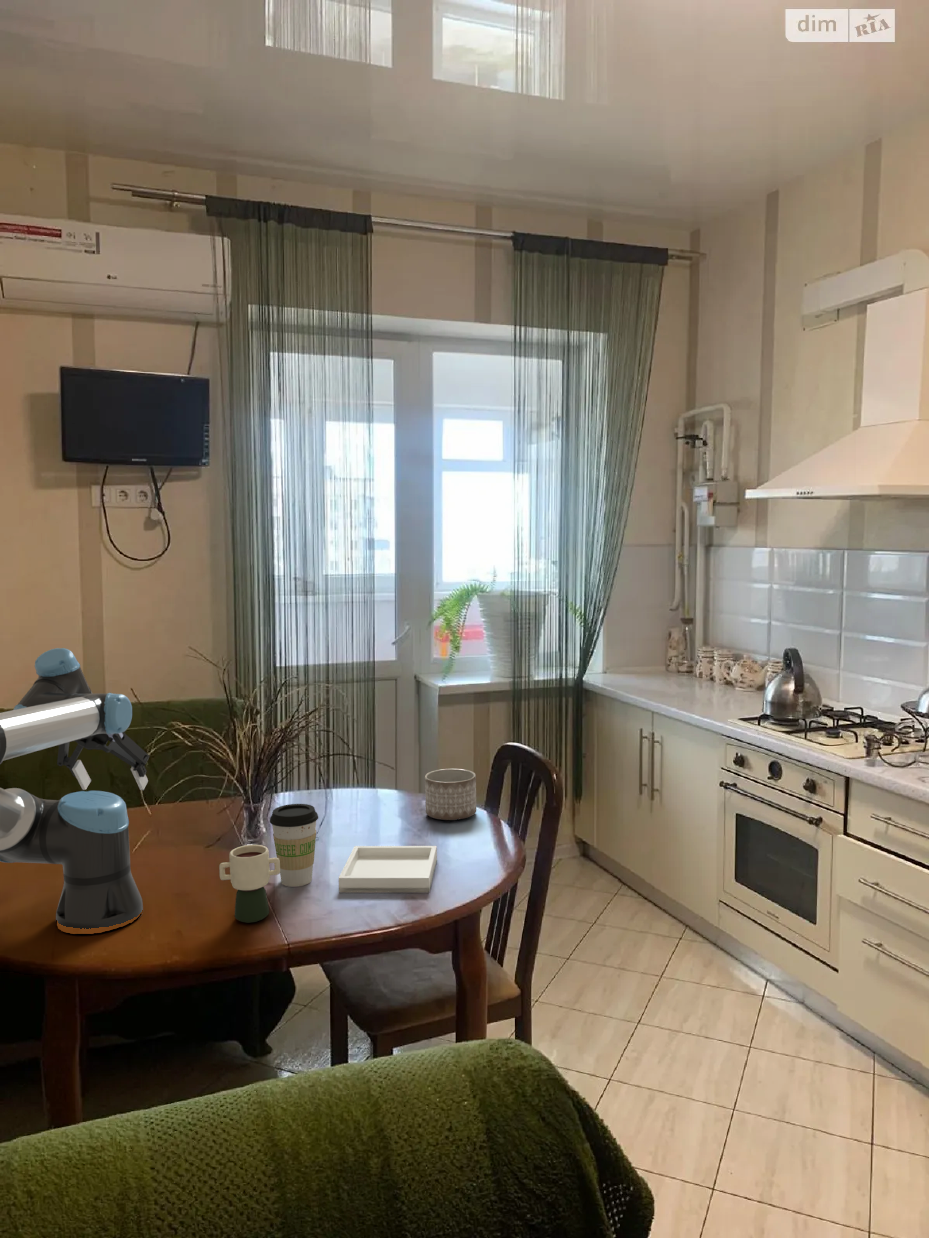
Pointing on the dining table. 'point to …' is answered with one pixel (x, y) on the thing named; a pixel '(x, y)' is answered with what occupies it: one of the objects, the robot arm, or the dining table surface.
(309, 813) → the coffee cup
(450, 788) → the planter
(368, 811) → the dining table surface
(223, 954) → the dining table surface
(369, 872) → the tray
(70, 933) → the dining table surface
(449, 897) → the dining table surface
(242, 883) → the character mug
